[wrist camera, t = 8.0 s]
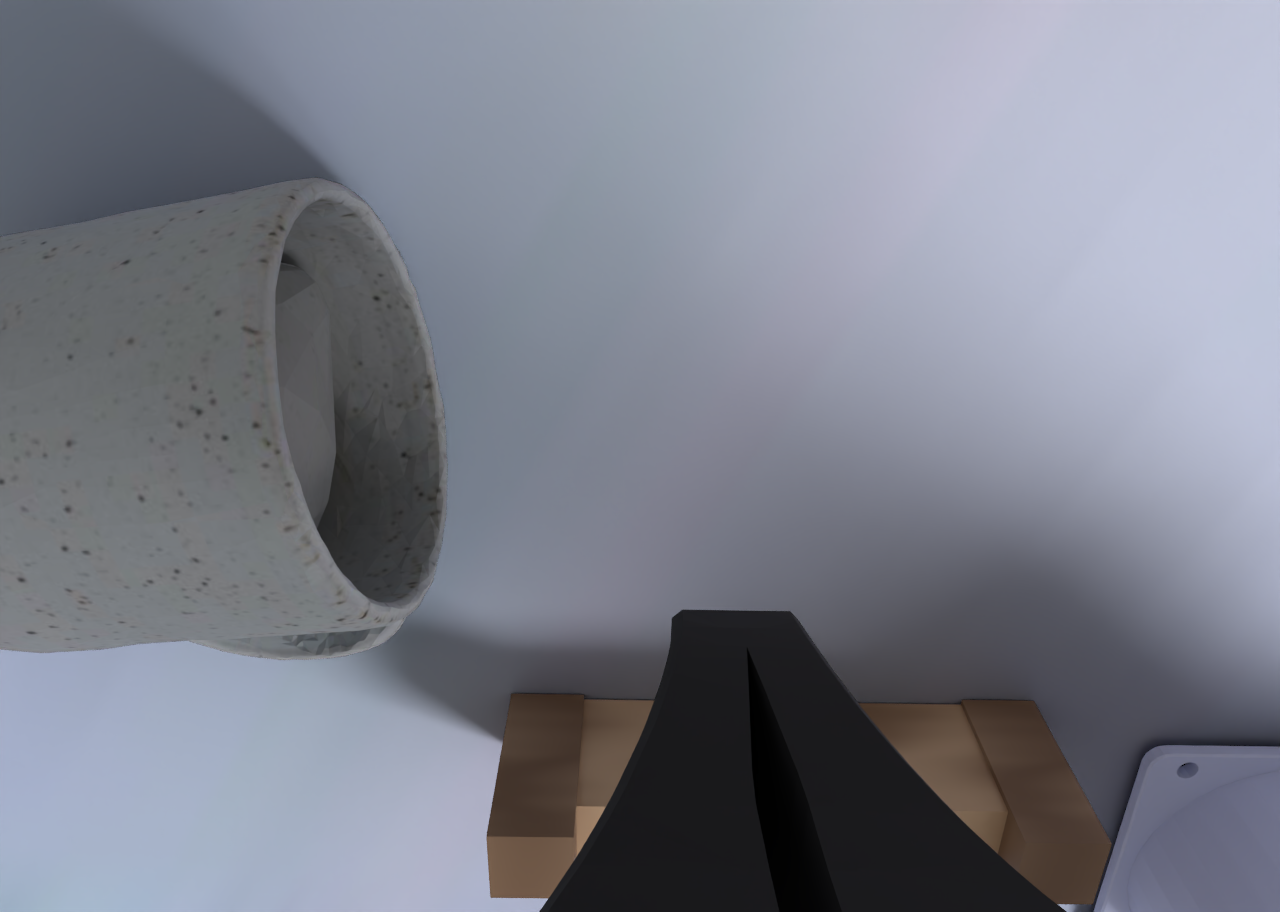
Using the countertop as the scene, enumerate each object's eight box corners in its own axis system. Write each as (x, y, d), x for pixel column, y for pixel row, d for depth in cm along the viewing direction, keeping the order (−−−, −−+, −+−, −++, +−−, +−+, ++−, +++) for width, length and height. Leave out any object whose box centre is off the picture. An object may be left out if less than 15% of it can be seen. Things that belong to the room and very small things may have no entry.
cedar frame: (1268, -248, 16) (1483, -322, 12) (1020, 755, 25) (1092, 904, 21) (465, -268, 16) (406, -350, 12) (514, 749, 25) (490, 897, 21)
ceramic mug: (-29, 215, 19) (-394, 362, 12) (375, 135, 19) (224, 244, 12) (183, 643, 24) (3, 920, 17) (510, 592, 23) (459, 858, 17)
